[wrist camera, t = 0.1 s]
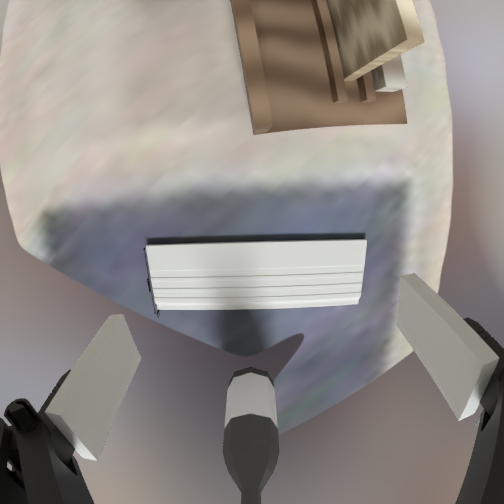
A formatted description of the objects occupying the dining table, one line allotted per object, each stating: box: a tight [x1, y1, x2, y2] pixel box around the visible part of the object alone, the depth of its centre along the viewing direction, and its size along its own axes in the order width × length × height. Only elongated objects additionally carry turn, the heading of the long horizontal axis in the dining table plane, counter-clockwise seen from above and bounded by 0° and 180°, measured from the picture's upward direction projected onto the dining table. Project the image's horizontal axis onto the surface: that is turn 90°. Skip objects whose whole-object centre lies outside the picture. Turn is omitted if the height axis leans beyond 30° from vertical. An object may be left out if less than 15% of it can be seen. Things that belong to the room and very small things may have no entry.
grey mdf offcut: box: [371, 55, 407, 92], centre depth 30 cm, size 6×3×4 cm, turn 9°
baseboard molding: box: [144, 239, 367, 318], centre depth 42 cm, size 31×3×12 cm
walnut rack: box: [231, 0, 407, 135], centre depth 25 cm, size 26×21×14 cm
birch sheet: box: [326, 0, 424, 81], centre depth 21 cm, size 14×2×18 cm, turn 9°
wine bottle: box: [223, 367, 279, 504], centre depth 36 cm, size 8×8×30 cm
